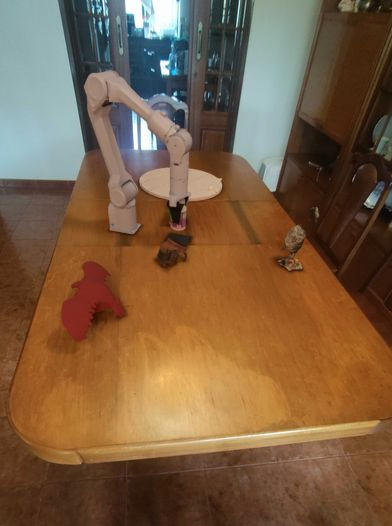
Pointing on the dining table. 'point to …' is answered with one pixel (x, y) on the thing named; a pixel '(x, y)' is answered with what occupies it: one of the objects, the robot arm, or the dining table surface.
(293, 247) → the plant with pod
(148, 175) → the lazy susan
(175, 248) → the pottery mug
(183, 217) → the pill bottle
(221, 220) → the dining table surface
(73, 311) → the red lobster claw
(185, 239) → the coaster
